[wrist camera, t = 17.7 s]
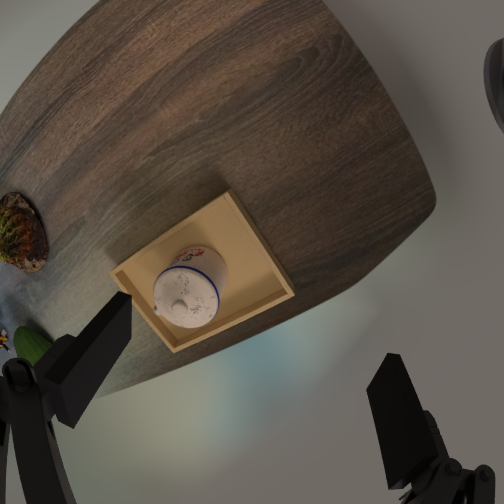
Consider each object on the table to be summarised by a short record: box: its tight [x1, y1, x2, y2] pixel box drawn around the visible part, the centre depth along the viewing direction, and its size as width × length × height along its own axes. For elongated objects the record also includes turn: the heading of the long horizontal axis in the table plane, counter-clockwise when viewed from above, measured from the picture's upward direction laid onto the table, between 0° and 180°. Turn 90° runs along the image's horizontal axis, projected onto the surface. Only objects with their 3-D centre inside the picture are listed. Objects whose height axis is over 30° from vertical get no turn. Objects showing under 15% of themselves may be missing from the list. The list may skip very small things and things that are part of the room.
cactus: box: [0, 193, 48, 273], centre depth 45 cm, size 17×16×10 cm
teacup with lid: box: [153, 246, 228, 328], centre depth 43 cm, size 12×9×12 cm
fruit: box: [13, 326, 52, 367], centre depth 55 cm, size 15×10×10 cm, turn 28°
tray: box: [109, 188, 295, 353], centre depth 48 cm, size 24×18×3 cm
